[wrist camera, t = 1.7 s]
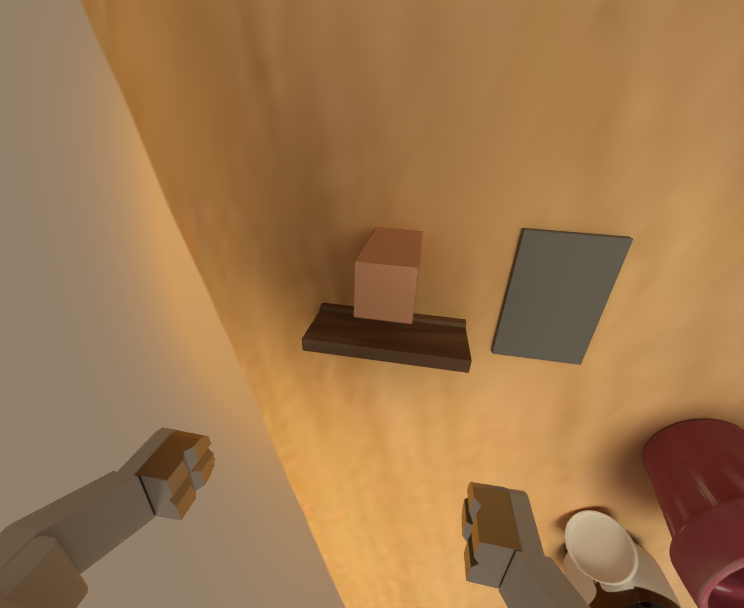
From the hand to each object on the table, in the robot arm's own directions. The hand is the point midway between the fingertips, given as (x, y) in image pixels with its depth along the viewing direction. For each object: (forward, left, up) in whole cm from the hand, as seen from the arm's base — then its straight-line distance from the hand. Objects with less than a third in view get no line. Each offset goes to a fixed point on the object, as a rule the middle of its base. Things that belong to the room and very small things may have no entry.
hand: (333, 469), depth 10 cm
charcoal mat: (+3, +14, -22) cm, 26 cm away
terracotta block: (0, 0, -22) cm, 22 cm away
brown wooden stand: (+8, 0, -22) cm, 23 cm away
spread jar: (+35, +28, -22) cm, 50 cm away
